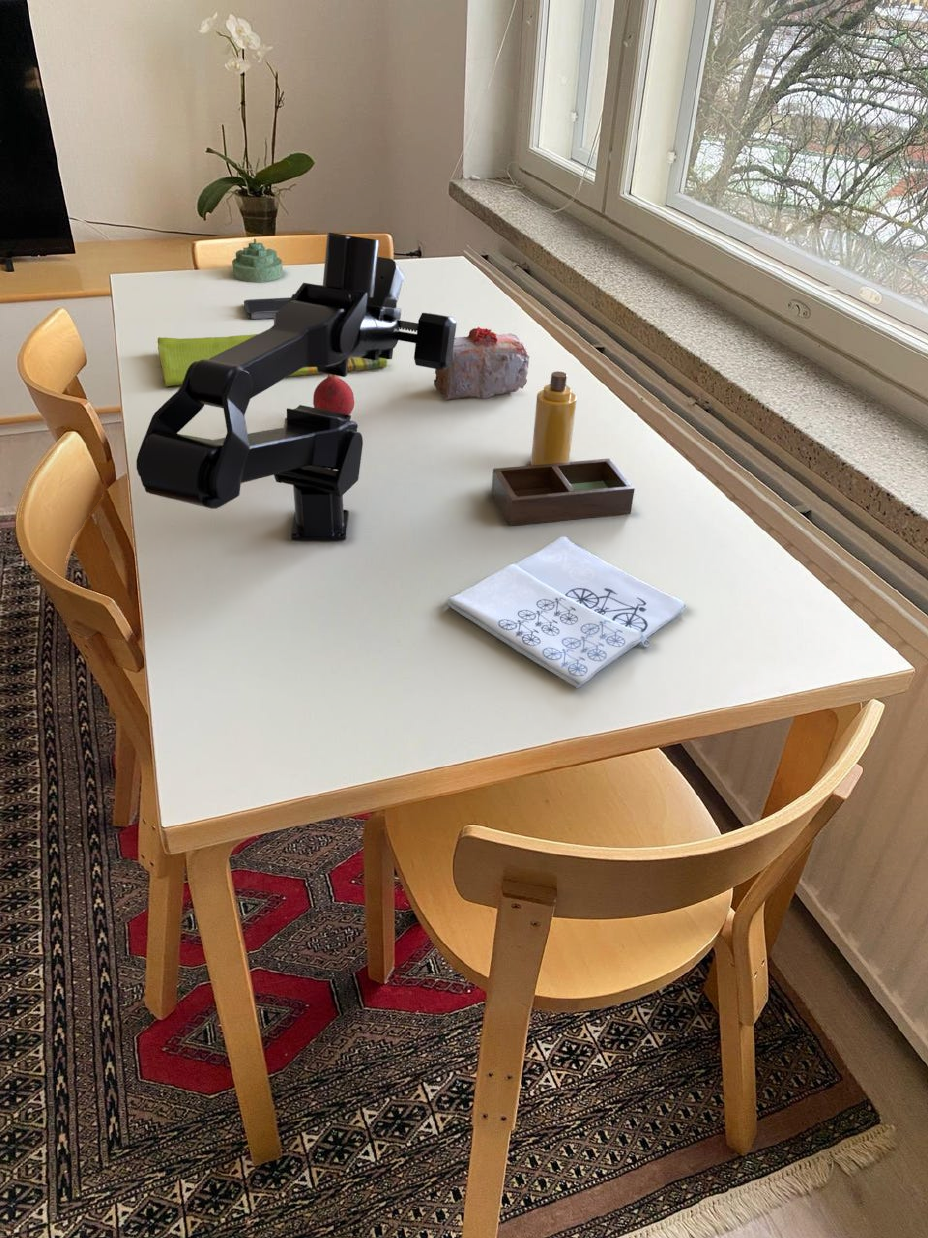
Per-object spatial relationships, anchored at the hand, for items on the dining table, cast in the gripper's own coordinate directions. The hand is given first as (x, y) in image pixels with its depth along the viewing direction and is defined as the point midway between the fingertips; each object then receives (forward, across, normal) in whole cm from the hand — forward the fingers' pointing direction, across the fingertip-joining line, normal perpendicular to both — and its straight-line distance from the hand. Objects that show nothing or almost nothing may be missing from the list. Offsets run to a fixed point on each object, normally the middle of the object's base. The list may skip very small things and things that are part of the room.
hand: (406, 331), depth 122 cm
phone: (+44, +42, +3) cm, 61 cm away
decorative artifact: (+60, +59, -2) cm, 84 cm away
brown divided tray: (-3, -25, +17) cm, 30 cm away
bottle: (+7, -21, +14) cm, 26 cm away
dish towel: (+22, +32, +10) cm, 40 cm away
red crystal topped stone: (+25, -3, +9) cm, 27 cm away
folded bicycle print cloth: (-24, -32, +24) cm, 47 cm away
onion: (+5, +11, +15) cm, 19 cm away
